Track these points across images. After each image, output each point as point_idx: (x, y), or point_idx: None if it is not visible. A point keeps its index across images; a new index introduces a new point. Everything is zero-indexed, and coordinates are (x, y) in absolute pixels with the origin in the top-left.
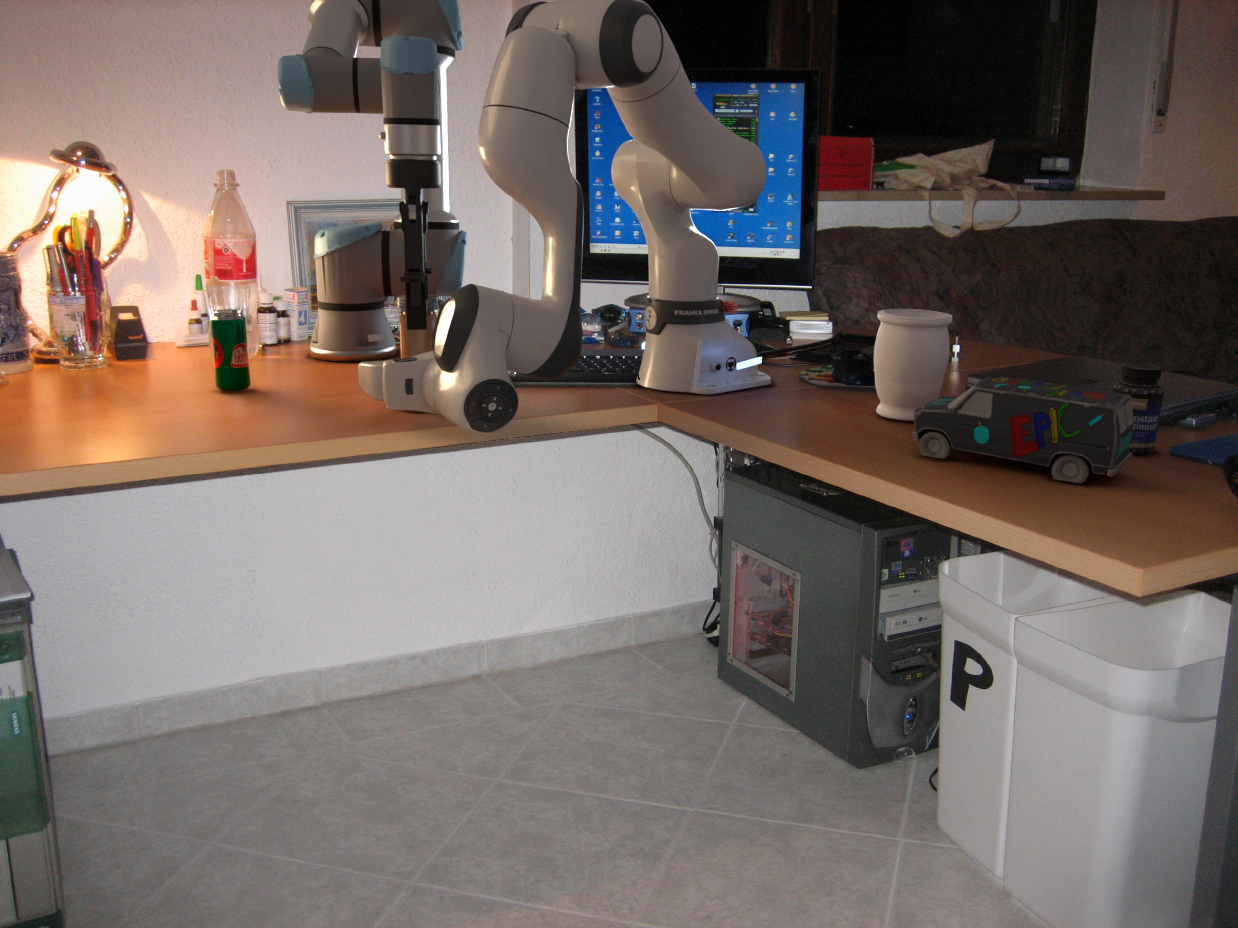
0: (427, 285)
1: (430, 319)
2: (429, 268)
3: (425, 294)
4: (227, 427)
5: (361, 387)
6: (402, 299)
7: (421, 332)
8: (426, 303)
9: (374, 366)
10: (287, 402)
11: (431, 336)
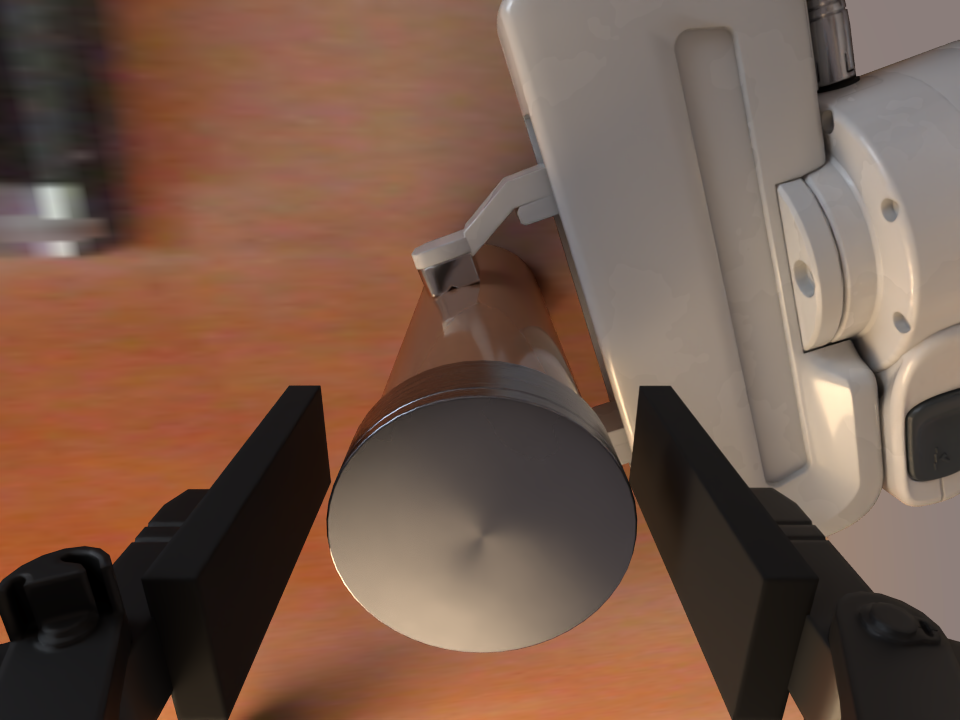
0: (236, 515)
1: (569, 385)
2: (9, 608)
3: (761, 508)
4: (635, 707)
5: None
6: (588, 616)
7: None
8: (618, 458)
9: (851, 524)
10: (390, 636)
11: (551, 345)
